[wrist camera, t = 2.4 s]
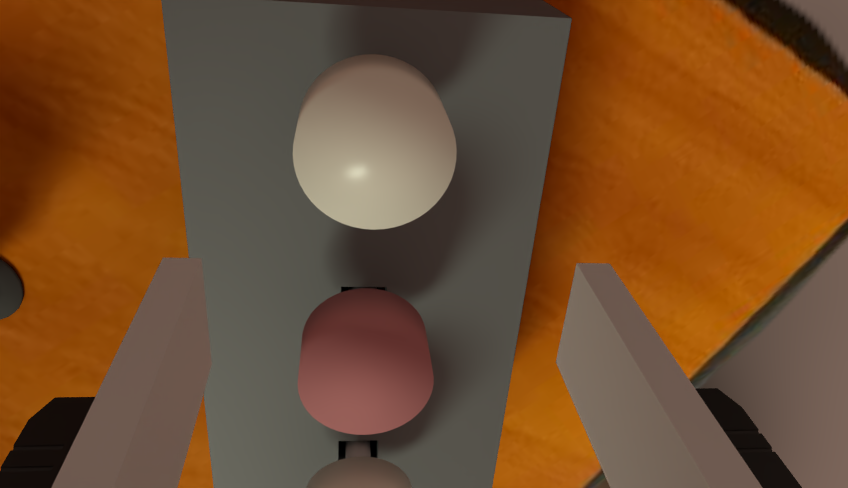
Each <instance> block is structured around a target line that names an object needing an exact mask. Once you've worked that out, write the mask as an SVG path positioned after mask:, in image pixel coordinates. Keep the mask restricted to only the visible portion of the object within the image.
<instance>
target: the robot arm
mask: <svg viewBox="0 0 848 488" xmlns="http://www.w3.org/2000/svg"><path fill="white" fill-rule="evenodd" d="M556 363H557V365H558V368H559V370H560V372H561V375H562V377H563V379H564V382H565V384H566V386H567V389H568V391H569V393H570V396H571V398H572V400H573V402H574V405H575V407H576V409H577V412H578V414H579V416H580V419H581V421H582V423H583V426H584V428H585V430H586V433H587V435H588V437H589V440H590V442H591V444H592V446H593V449H594V451H595V453H596V456H597V458H598V460H599V463H600V465H601V467H602V470H603V472H604V474H605V477H606V479H607V481H608V483H609V486H610V488H802V487H801V486H800V484H799V483H798V482H797V480H796V479H795V478H794V477H793V475H792V474H791V472H790V471H789V470H788V469H787V467H786V466H785V465H784V463H783V462H782V460H781V459H780V458H779V456H778V455H777V454H776V453H775V452H772V447H771V446H770V444H769V443H768V442H767V440H766V439H765V438H764V436H763V435H762V434H759V433H758V428H757V427H756V426H755V424H754V423H753V421H752V420H751V419H750V417H749V416H748V415H747V414H746V412H745V411H744V409H743V408H742V407H741V406H740V405H738V404H737V403H736V402H734V401H733V400H732V399H730V398H729V397H728V396H726V395H725V394H724V393H723V392H721V391H720V390H719V389H717V388H715V389H712V388H709V389H695V388H694V387H693V385H692V384H691V382H690V381H689V379H688V378H687V376H686V375H685V373H684V372H683V370H682V369H681V367H680V366H679V365H678V363H677V362H676V360H675V359H674V357H673V356H672V354H671V353H670V351H669V350H668V348H667V347H666V345H665V344H664V343H663V341H662V340H661V338H660V337H659V335H658V334H657V332H656V331H655V329H654V328H653V326H652V325H651V323H650V322H649V321H648V319H647V318H646V316H645V315H644V313H643V312H642V310H641V309H640V307H639V306H638V304H637V303H636V301H635V300H634V299H633V297H632V296H631V294H630V293H629V291H628V290H627V288H626V287H625V285H624V284H623V282H622V281H621V279H620V278H619V277H618V275H617V274H616V272H615V271H614V269H613V268H612V266H611V265H610V264H594V263H577V264H576V269H575V274H574V279H573V283H572V288H571V293H570V298H569V302H568V307H567V312H566V317H565V322H564V326H563V331H562V336H561V341H560V346H559V350H558V355H557V360H556ZM211 365H212V361H211V351H210V340H209V330H208V320H207V309H206V299H205V289H204V279H203V268H202V258H163V259H162V261H161V263H160V265H159V267H158V269H157V271H156V273H155V275H154V277H153V280H152V282H151V284H150V286H149V288H148V290H147V292H146V294H145V296H144V298H143V300H142V302H141V304H140V306H139V308H138V310H137V312H136V315H135V317H134V319H133V321H132V323H131V325H130V327H129V329H128V331H127V333H126V335H125V337H124V339H123V341H122V343H121V345H120V347H119V350H118V352H117V354H116V356H115V358H114V360H113V362H112V364H111V366H110V368H109V370H108V372H107V374H106V376H105V378H104V380H103V382H102V385H101V387H100V389H99V391H98V393H97V395H96V397H61V398H54V399H53V400H52V401H50V402H49V403H48V404H47V405H46V406H44V407H43V408H42V409H41V410H40V411H39V412H37V413H36V414H35V415H34V416H33V417H31V418H30V419H29V420H28V422H27V424H26V425H25V427H24V429H23V430H22V432H21V434H20V435H19V437H18V439H17V441H16V442H15V444H14V449H13V451H10V452H9V454H8V456H7V458H6V459H5V461H4V463H3V464H2V466H1V471H0V488H177V487H178V483H179V480H180V476H181V473H182V469H183V465H184V462H185V458H186V455H187V451H188V447H189V444H190V440H191V437H192V433H193V430H194V426H195V422H196V419H197V415H198V412H199V408H200V404H201V401H202V397H203V394H204V390H205V387H206V383H207V379H208V376H209V372H210V369H211Z"/></svg>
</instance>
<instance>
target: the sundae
mask: <svg viewBox="0 0 848 488" xmlns="http://www.w3.org/2000/svg"><path fill="white" fill-rule="evenodd" d="M22 299H23V287H22V283H21V281H20V279H19V277H18V275H17V274H16V273H15V271H14V270H13V269H12V268H11V267H10V266H9V265H8V264H7V263H5V262H4V261H2V260H1V259H0V319H3V318H6V317H9V316H10V315H11V314H13V313H14V312H15V311H16V310H17V309H18V308H19V307H20V305H21V302H22Z"/></svg>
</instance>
